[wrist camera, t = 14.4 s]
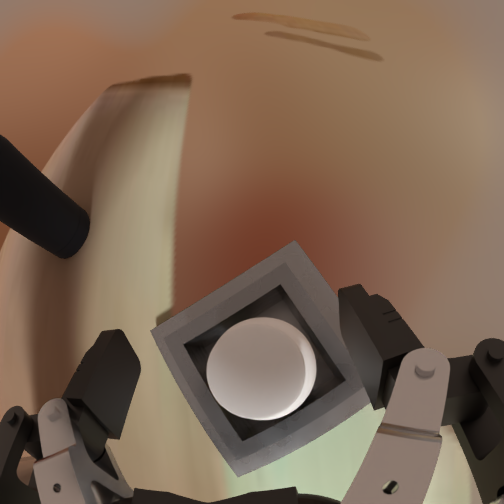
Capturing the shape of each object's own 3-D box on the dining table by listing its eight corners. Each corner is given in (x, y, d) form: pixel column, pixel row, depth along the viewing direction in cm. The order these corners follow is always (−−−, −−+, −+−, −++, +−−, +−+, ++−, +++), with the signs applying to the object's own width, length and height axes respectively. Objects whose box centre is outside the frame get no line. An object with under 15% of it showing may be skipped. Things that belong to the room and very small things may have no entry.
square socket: (240, 471, 17) (224, 501, 12) (156, 332, 22) (120, 322, 17) (390, 381, 18) (420, 386, 13) (295, 245, 24) (295, 212, 18)
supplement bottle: (252, 318, 21) (221, 285, 12) (320, 345, 19) (344, 334, 10) (223, 382, 19) (169, 398, 10) (290, 411, 18) (288, 454, 9)
